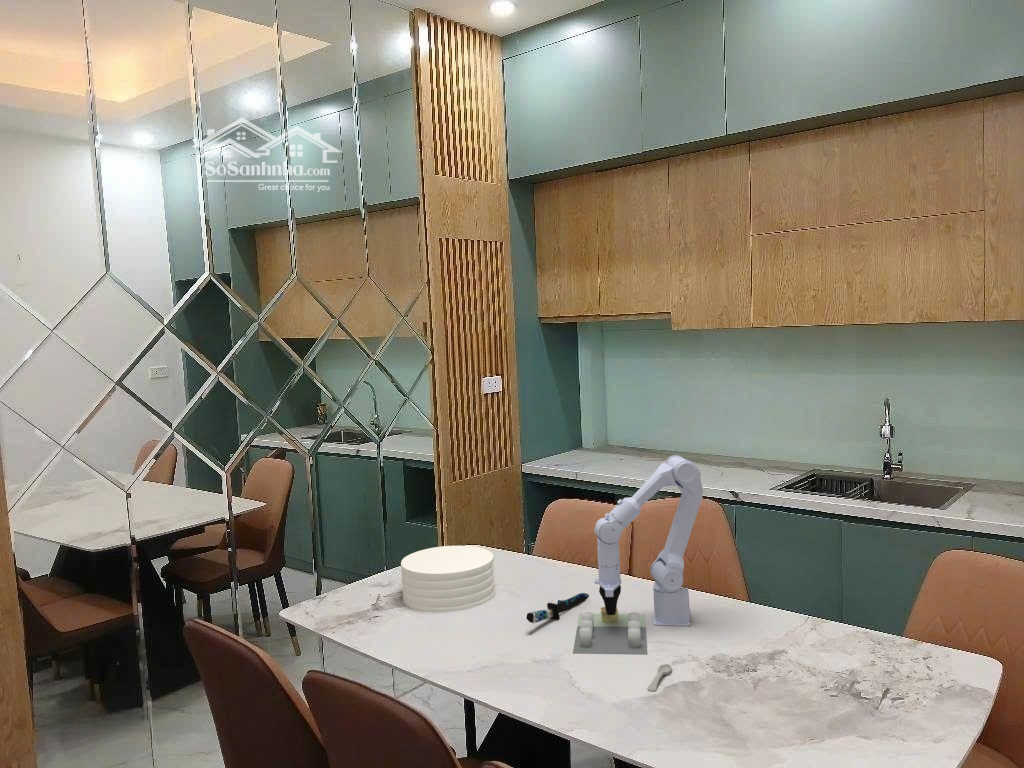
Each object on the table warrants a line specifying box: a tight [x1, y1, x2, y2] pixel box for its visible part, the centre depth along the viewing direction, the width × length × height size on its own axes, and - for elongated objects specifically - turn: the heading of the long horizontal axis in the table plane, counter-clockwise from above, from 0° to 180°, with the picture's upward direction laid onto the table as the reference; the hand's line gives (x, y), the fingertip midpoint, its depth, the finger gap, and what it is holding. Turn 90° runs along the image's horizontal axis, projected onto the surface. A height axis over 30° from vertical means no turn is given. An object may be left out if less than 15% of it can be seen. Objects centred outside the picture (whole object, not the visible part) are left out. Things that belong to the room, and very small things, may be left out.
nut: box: [600, 606, 619, 623], centre depth 208 cm, size 4×5×3 cm
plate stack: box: [400, 545, 496, 613], centre depth 234 cm, size 28×28×12 cm
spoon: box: [646, 663, 673, 693], centre depth 172 cm, size 3×12×2 cm, turn 151°
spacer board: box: [572, 612, 649, 656], centre depth 199 cm, size 18×26×4 cm
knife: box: [526, 592, 590, 624], centre depth 213 cm, size 31×3×4 cm, turn 140°
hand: (611, 614), depth 204 cm, fingers closed
